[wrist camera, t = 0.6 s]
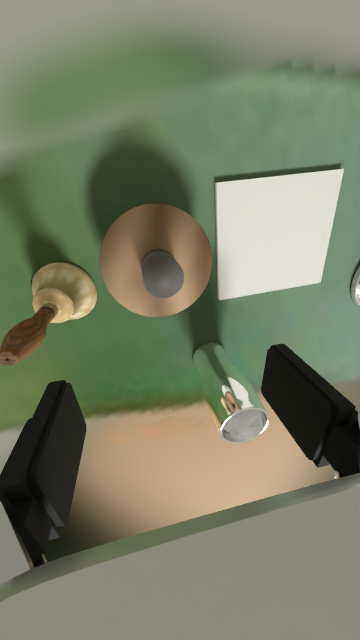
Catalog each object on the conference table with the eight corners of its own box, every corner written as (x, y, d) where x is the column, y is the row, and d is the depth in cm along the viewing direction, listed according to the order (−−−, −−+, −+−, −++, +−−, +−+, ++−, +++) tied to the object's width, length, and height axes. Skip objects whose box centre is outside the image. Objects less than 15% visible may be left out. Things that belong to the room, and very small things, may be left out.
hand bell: (17, 279, 28) (-95, 347, 15) (72, 251, 28) (13, 291, 14) (59, 327, 32) (3, 417, 19) (108, 303, 32) (89, 375, 18)
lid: (207, 197, 24) (228, 194, 19) (211, 304, 30) (227, 325, 25) (86, 210, 22) (71, 211, 17) (115, 321, 28) (111, 346, 23)
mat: (340, 169, 30) (343, 168, 29) (317, 281, 37) (320, 282, 37) (214, 183, 28) (216, 182, 27) (217, 299, 35) (218, 300, 35)
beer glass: (194, 375, 42) (223, 451, 29) (186, 346, 38) (213, 418, 25) (228, 363, 42) (272, 434, 29) (223, 334, 39) (269, 399, 26)
